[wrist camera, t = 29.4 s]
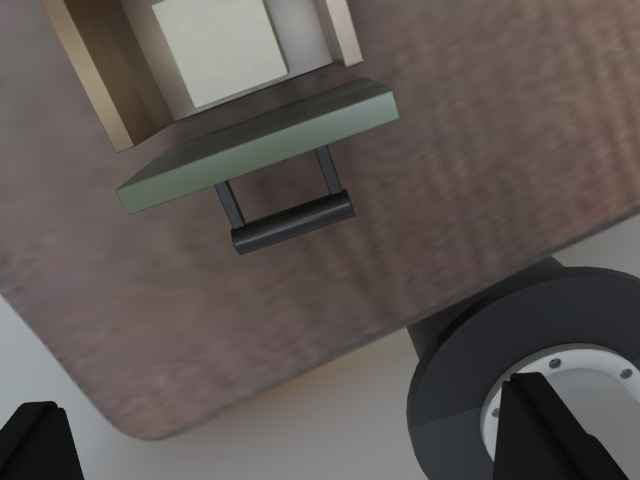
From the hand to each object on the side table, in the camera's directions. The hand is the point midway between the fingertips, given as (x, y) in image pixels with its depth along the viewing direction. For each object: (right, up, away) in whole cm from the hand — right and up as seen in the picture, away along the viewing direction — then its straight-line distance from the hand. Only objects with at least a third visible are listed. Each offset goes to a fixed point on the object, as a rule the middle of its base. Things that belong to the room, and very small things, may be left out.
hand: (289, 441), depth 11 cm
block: (-4, +14, +15) cm, 21 cm away
